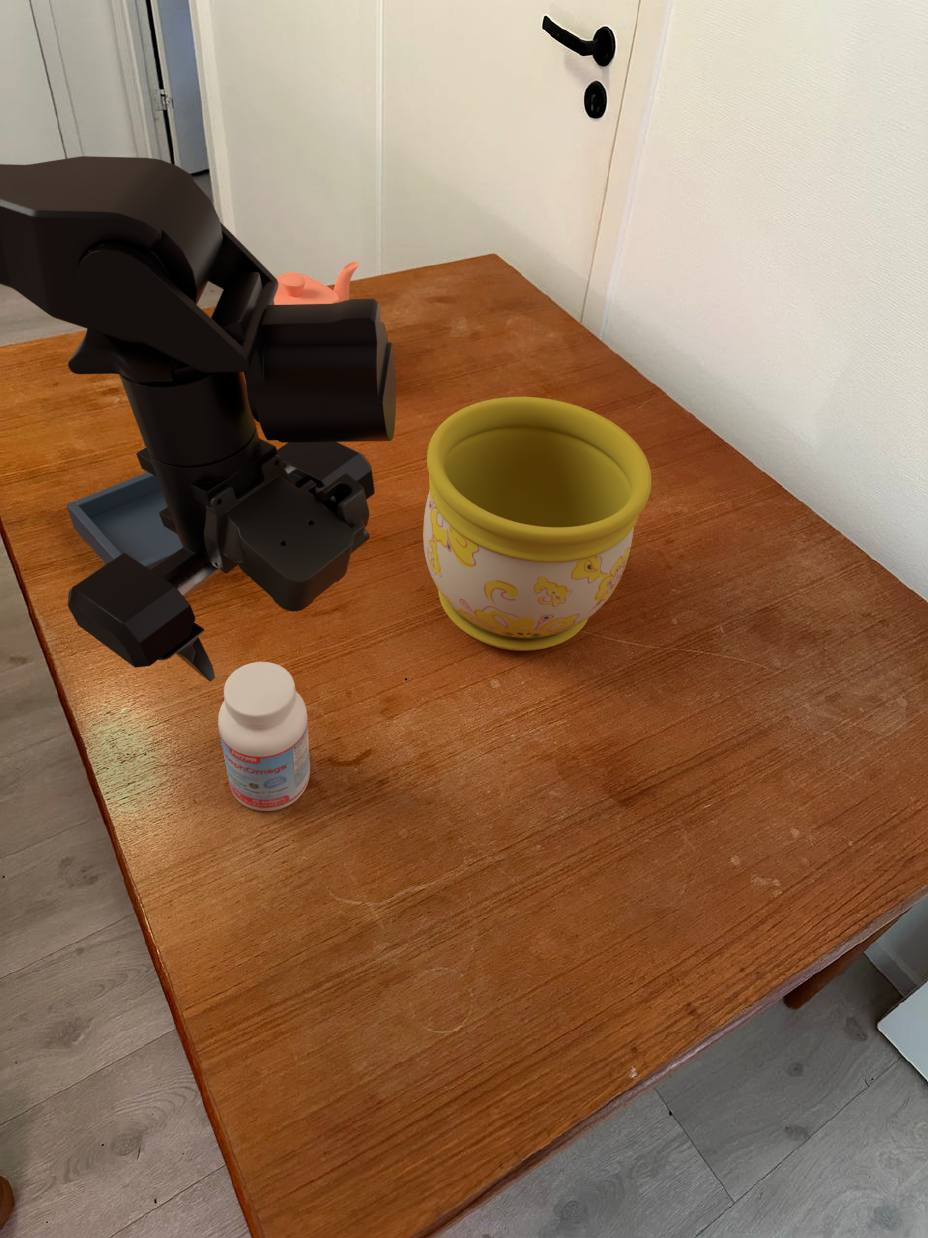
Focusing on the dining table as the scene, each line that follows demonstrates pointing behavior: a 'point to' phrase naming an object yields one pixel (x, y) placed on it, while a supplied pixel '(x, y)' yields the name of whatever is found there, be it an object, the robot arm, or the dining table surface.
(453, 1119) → the dining table surface
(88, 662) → the dining table surface
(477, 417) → the flowerpot
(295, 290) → the teapot
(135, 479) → the tray
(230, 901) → the dining table surface
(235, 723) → the pill bottle
